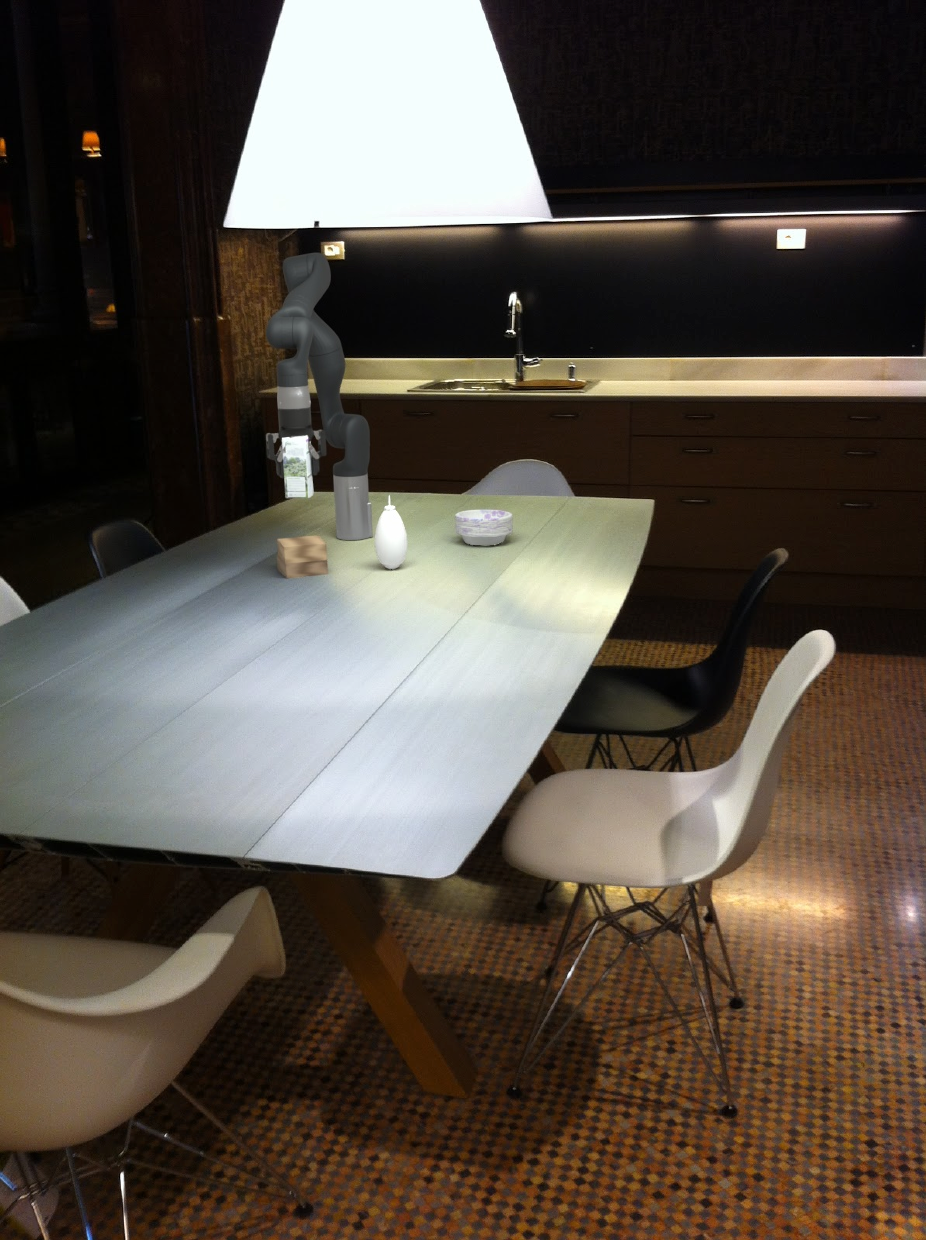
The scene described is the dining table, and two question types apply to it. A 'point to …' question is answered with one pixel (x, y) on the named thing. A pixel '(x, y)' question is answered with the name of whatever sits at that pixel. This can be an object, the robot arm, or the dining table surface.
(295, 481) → the syrup box
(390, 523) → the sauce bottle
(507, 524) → the paper bowls
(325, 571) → the tower base block
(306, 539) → the tower top block
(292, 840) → the dining table surface
